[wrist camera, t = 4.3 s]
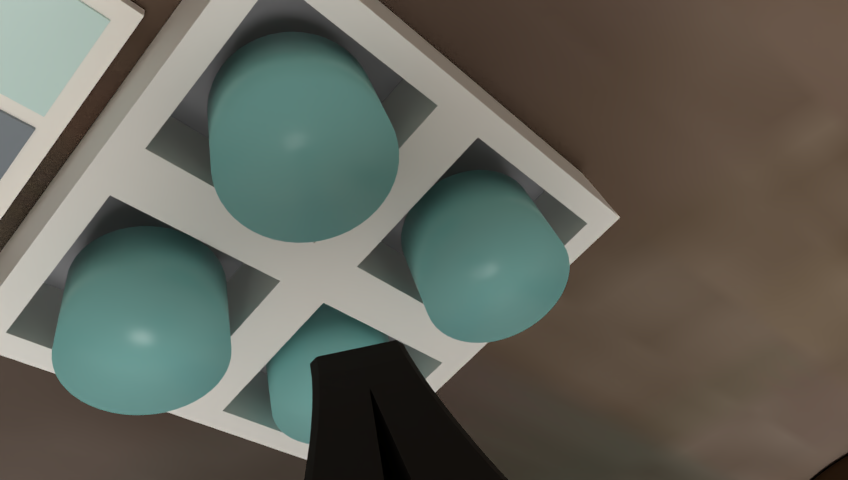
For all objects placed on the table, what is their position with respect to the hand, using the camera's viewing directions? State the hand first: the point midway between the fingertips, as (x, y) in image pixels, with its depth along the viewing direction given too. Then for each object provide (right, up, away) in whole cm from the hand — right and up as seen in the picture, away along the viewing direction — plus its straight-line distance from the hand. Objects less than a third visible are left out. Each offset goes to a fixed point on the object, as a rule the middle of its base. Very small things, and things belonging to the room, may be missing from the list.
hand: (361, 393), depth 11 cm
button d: (-2, +5, +5) cm, 8 cm away
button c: (+2, +3, +9) cm, 9 cm away
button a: (-2, -1, +11) cm, 12 cm away
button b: (-6, +1, +7) cm, 9 cm away
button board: (-2, +3, +9) cm, 10 cm away
